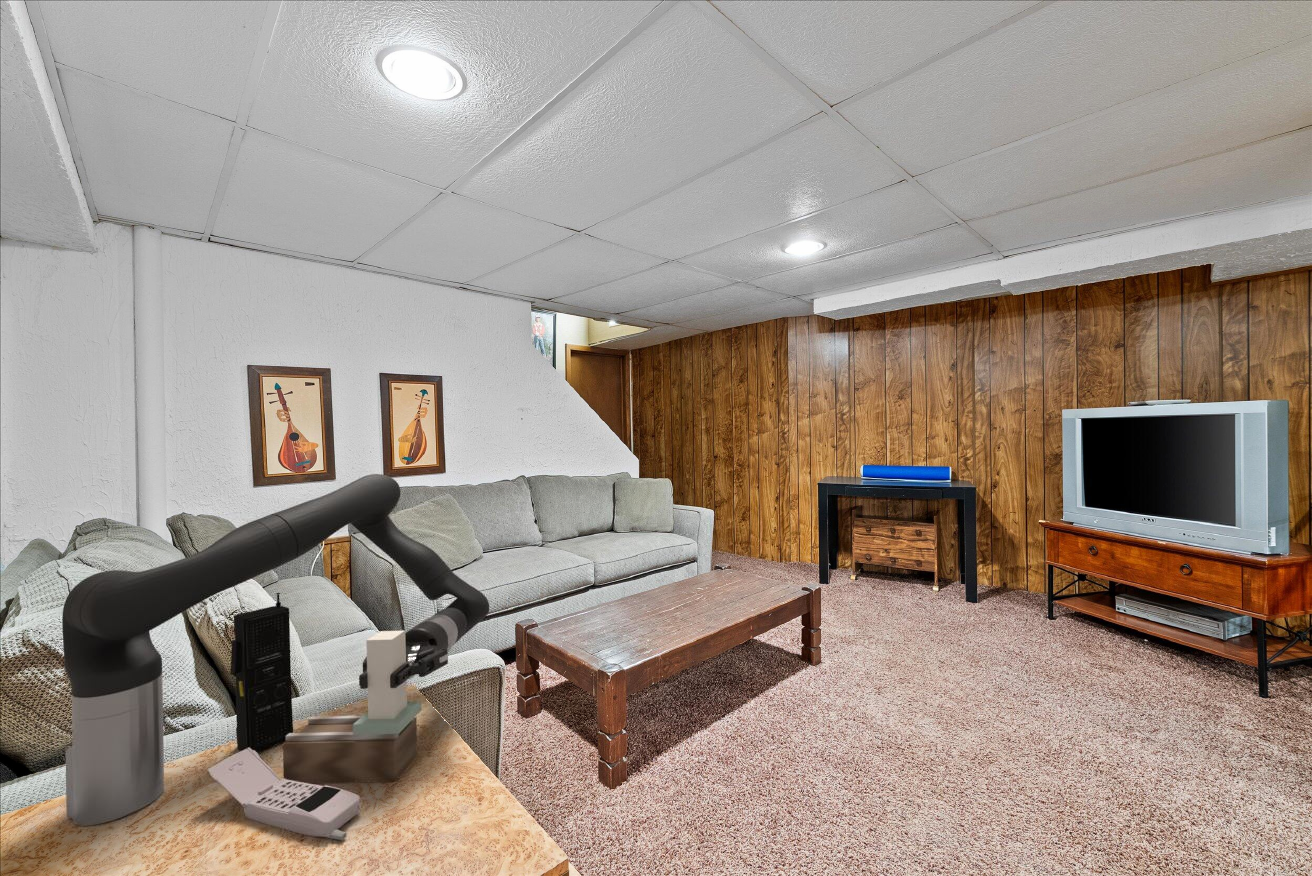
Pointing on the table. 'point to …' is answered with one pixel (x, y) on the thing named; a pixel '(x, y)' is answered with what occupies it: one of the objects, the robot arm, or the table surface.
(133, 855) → the table surface
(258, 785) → the mobile phone
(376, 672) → the white pillar on base
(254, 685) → the portable radio
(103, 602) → the robot arm
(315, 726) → the walnut track
